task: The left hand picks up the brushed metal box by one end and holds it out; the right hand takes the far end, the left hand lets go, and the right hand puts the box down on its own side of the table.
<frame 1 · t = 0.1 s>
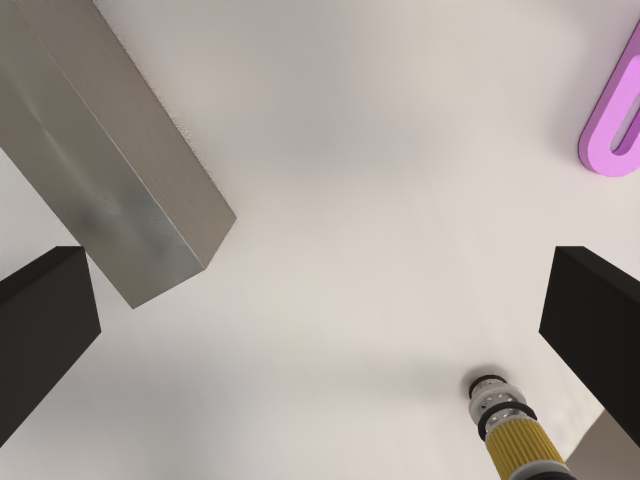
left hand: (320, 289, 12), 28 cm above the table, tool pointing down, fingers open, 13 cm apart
box: (124, 112, 37), on the table
bracket: (632, 100, 37), on the table
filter: (484, 383, 47), on the table
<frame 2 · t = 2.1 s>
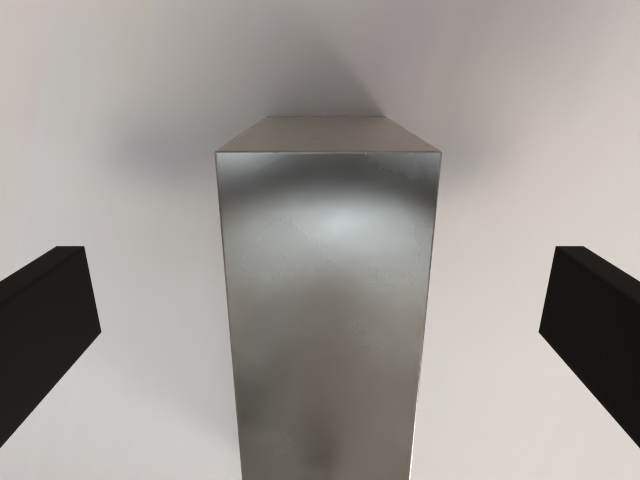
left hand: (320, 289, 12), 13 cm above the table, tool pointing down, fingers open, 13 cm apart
box: (325, 326, 28), on the table
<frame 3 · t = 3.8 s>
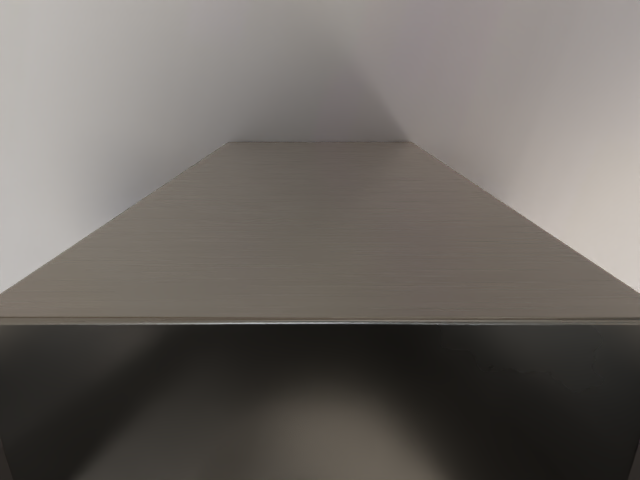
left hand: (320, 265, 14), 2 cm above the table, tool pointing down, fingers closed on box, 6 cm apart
box: (320, 435, 19), on the table, touching left hand
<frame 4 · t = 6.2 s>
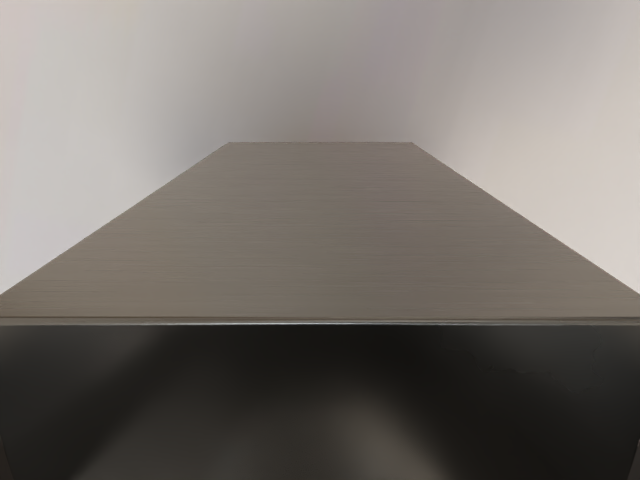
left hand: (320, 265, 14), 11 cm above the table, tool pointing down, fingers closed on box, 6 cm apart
box: (320, 435, 19), point 8 cm above the table, touching left hand
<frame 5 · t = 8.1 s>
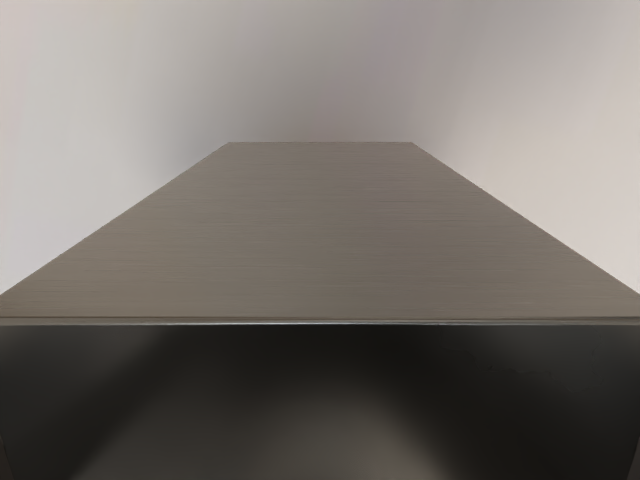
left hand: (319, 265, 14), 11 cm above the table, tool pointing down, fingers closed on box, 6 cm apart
box: (320, 435, 19), point 8 cm above the table, touching left hand, right hand
when the left hand's fingers open (11 cm above the table, at t = 8.9 s): box stays where it is, held by the right hand.
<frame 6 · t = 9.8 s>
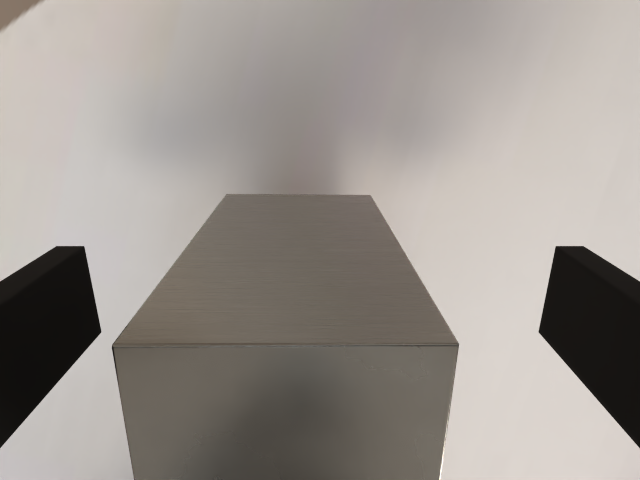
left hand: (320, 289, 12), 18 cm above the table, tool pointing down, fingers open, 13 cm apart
box: (299, 428, 23), point 11 cm above the table, touching right hand
when the right hand's fingers open (4 cm above the table, at t = 12.9 s): box drops 2 cm, on the table.
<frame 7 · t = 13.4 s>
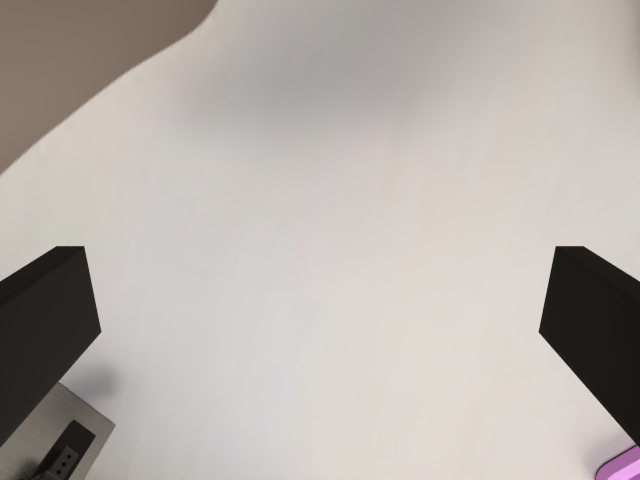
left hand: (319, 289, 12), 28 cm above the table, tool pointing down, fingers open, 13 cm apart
box: (3, 370, 47), on the table
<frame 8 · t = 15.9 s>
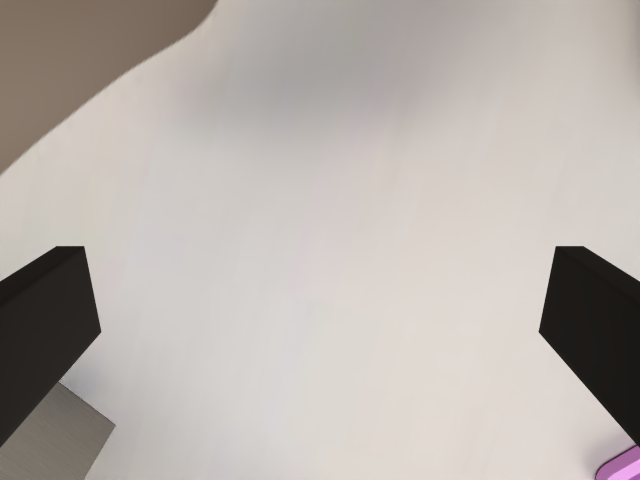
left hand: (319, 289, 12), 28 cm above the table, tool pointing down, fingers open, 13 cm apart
box: (3, 370, 47), on the table
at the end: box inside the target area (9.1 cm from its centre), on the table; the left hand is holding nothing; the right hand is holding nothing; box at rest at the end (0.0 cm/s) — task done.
